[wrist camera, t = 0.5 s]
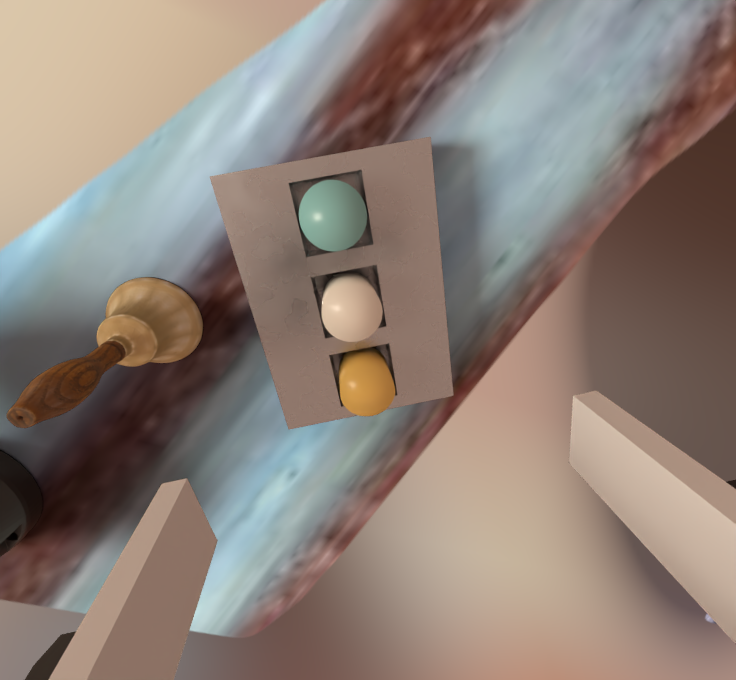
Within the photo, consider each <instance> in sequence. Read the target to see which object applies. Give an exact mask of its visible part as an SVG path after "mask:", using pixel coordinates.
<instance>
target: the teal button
mask: <svg viewBox="0 0 736 680" xmlns="http://www.w3.org/2000/svg"><path fill="white" fill-rule="evenodd" d="M299 221H300V225H301V228H302V231H303V233H304V234H305V236H306V237H307V239H308V240H309V241H310V242H311V243H312V244H314V245H315V246H317V247H318V248H320V249H323V250H326V251H335V252H336V251H342V250H345V249H348V248H349V247H351V246H353V245H354V244H355V243H356V242H357V241H358V240H359V239H360V238H361V236H362V234H363V232H364V230H365V227H366V223H367V211H366V206H365V203H364V201H363V199H362V197H361V196H360V194H359V193H358V192H357V191H356V190H355V189H354V188H353V187H352V186H350V185H349V184H347V183H345V182H342V181H339V180H325V181H321V182H319V183H317V184H315V185H313V186H312V187H311V188H310V189H309V190H308V191H307V192H306V193H305V195H304V197H303V198H302V201H301V203H300V208H299Z"/></svg>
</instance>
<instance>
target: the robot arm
mask: <svg viewBox="0 0 736 680" xmlns="http://www.w3.org/2000/svg"><path fill="white" fill-rule="evenodd" d="M569 464H570V465H571V466H572V467H573V468H574V469H575V470H576V471H577V472H578V474H579V475H580V476H581V477H582V478H583V479H584V480H585V481H586V482H587V483H588V484H589V485H590V487H591V488H593V490H594V491H595V492H596V493H597V494H598V495H599V496H600V497H601V499H602V500H603V501H604V502H605V503H606V504H607V505H608V506H609V507H610V508H611V509H612V510H613V512H614V513H615V514H616V515H617V516H618V517H619V518H620V519H621V520H622V521H623V522H624V523H625V524H626V526H627V527H628V528H629V529H630V530H631V531H632V532H633V533H634V534H635V535H636V536H637V537H638V539H639V540H640V541H641V542H642V543H643V544H644V545H645V546H646V547H647V548H648V550H649V551H650V552H651V553H652V554H653V555H654V556H655V557H656V558H657V559H658V560H659V561H660V563H661V564H662V565H663V566H664V567H665V568H666V569H667V570H668V571H669V572H670V573H671V574H672V575H673V576H674V577H675V579H676V580H677V581H678V582H679V583H680V584H681V585H682V586H683V587H684V588H685V590H686V591H687V592H688V593H689V594H690V595H691V596H692V597H693V598H694V599H695V600H696V602H697V603H698V604H699V605H700V606H701V607H702V608H703V609H704V610H705V611H706V612H707V613H708V615H709V616H710V617H711V618H712V619H713V620H714V621H715V622H716V623H717V624H718V625H719V627H720V628H721V629H722V630H723V631H724V632H725V633H726V634H727V635H728V636H729V637H730V638H731V639H732V641H733V642H734V643H735V644H736V480H733V481H728V482H725V481H724V480H722V479H720V478H719V477H718V476H716V475H715V474H714V473H712V472H711V471H709V470H708V469H707V468H705V467H704V466H702V465H701V464H699V463H698V462H697V461H695V460H694V459H692V458H690V456H688V455H687V454H685V453H684V452H683V451H681V450H679V449H678V448H677V447H675V446H674V445H672V444H671V443H670V442H668V441H667V440H665V439H664V438H663V437H661V436H660V435H658V434H657V433H656V432H654V431H653V430H651V429H650V428H649V427H647V426H646V425H644V424H643V423H641V422H640V421H639V420H637V419H636V418H634V417H633V416H631V415H630V414H629V413H627V412H626V411H624V410H623V409H622V408H620V407H619V406H617V405H616V404H615V403H613V402H612V401H610V400H609V399H607V398H606V397H605V396H603V395H602V394H600V393H599V392H598V391H592V392H588V393H583V394H579V395H574V396H573V405H572V423H571V438H570V454H569ZM42 507H43V502H42V496H41V492H40V489H39V487H38V485H37V483H36V482H35V480H34V479H33V477H32V476H31V475H30V473H29V472H28V471H27V470H26V469H25V468H24V467H23V466H22V465H21V464H19V463H18V462H17V461H16V460H14V459H13V458H11V457H10V456H9V455H7V454H5V453H4V452H2V451H0V557H1V556H2V555H4V554H5V553H7V552H8V551H10V550H11V549H12V548H13V547H15V546H16V545H17V544H18V543H19V542H20V541H21V540H22V539H23V538H24V537H25V536H26V535H27V533H28V532H29V531H30V530H31V529H32V528H33V527H34V526H35V524H36V523H37V522H38V520H39V518H40V516H41V512H42ZM216 544H217V539H216V537H215V535H214V533H213V531H212V529H211V527H210V525H209V522H208V520H207V518H206V516H205V514H204V512H203V510H202V508H201V506H200V504H199V502H198V500H197V498H196V496H195V494H194V491H193V489H192V487H191V485H190V483H189V481H188V479H187V478H186V479H181V480H177V481H172V482H167V483H163V484H161V486H160V488H159V489H158V491H157V493H156V495H155V496H154V498H153V500H152V501H151V503H150V505H149V507H148V508H147V510H146V512H145V514H144V515H143V517H142V519H141V521H140V522H139V524H138V526H137V527H136V529H135V531H134V533H133V534H132V536H131V538H130V540H129V541H128V543H127V545H126V546H125V548H124V550H123V552H122V553H121V555H120V557H119V559H118V560H117V562H116V564H115V565H114V567H113V569H112V571H111V572H110V574H109V576H108V578H107V579H106V581H105V583H104V585H103V586H102V588H101V590H100V591H99V593H98V595H97V597H96V598H95V600H94V602H93V604H92V605H91V607H90V609H89V610H88V612H87V614H86V616H85V617H84V619H83V621H82V623H81V624H80V626H79V628H78V629H77V631H76V632H71V633H67V634H62V635H60V637H59V638H58V639H57V640H56V641H55V642H54V643H53V645H52V646H51V647H50V648H49V649H48V650H47V651H46V653H44V655H43V656H42V657H41V658H40V659H39V660H38V661H37V663H36V664H35V665H34V666H33V667H32V669H31V671H30V672H29V674H28V675H27V677H26V679H25V680H174V676H175V673H176V670H177V667H178V664H179V660H180V657H181V654H182V651H183V648H184V645H185V642H186V638H187V636H188V632H189V629H190V626H191V623H192V620H193V617H194V613H195V610H196V607H197V604H198V601H199V598H200V595H201V591H202V588H203V585H204V582H205V579H206V576H207V573H208V569H209V566H210V563H211V560H212V557H213V554H214V551H215V547H216Z"/></svg>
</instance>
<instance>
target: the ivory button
mask: <svg viewBox="0 0 736 680" xmlns="http://www.w3.org/2000/svg"><path fill="white" fill-rule="evenodd" d="M382 313H383V311H382V305H381V302H380V300H379V298H378V296H377V294H376V292H375V290H374V288H373V286H372V284H371V283H370V281H369V280H368V279H367V278H366V277H364V276H363V275H361V274H359V273H355V272H343V273H340V274H337V275H336V276H334V277H333V278H331V279H330V280H329V281H328V283H327V284H326V286H325V288H324V291H323V297H322V320H323V323H324V325H325V327H326V329H327V330H328V331H329V333H330V334H331V335H333V336H334V337H336V338H337V339H340V340H342V341H346V342H357V341H361V340H364V339H366V338H368V337H369V336H371V335H372V334H373V333H374V332H375V331H376V330H377V328H378V327H379V325H380V323H381V320H382Z"/></svg>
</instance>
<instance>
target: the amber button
mask: <svg viewBox="0 0 736 680" xmlns="http://www.w3.org/2000/svg"><path fill="white" fill-rule="evenodd" d="M339 383H340V397H341V401H342V403H343V405H344V406H345V407H346V409H348V410H349V411H350V412H352V413H354V414H356V415H360V416H373V415H376V414H379V413H381V412H383V411H384V410H386V409H387V408H388V407H389V406H390V404H391V403H392V401H393V399H394V396H395V385H394V382H393V379H392V376H391V373H390V371H389V368H388V365H387V362H386V360H385V358H384V356H383V355H382V353H381V352H379V351H378V350H376V349H375V348H372V347H368V348H363V349H358V350H353V351H348V352H347V353H346V354H345V355H344V356H343V357H342V359H341V361H340V364H339Z"/></svg>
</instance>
